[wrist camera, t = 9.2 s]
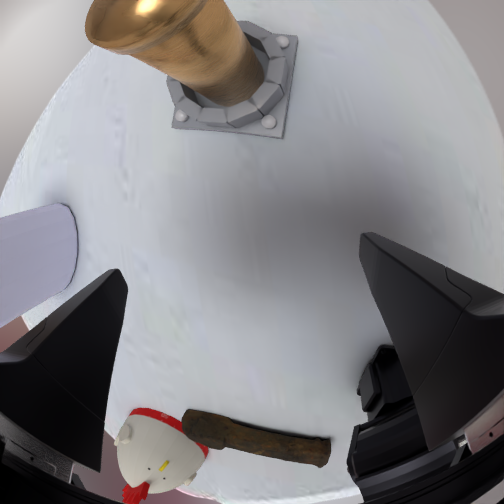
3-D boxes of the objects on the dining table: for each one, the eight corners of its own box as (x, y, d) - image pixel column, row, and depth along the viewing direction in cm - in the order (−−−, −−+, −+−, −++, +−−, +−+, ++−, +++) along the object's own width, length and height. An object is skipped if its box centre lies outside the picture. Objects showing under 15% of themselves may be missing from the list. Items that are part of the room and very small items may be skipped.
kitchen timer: (226, 451, 32) (193, 530, 18) (180, 462, 37) (149, 521, 23) (151, 397, 31) (95, 474, 17) (120, 418, 36) (76, 474, 22)
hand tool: (334, 435, 27) (333, 463, 22) (322, 449, 28) (320, 476, 24) (190, 395, 30) (174, 420, 25) (188, 412, 31) (174, 436, 26)
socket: (297, 40, 16) (294, 20, 13) (282, 138, 19) (276, 132, 16) (195, 38, 18) (178, 23, 15) (175, 128, 21) (155, 123, 17)
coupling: (279, 64, 17) (230, -50, 4) (244, 120, 18) (144, 55, 6) (221, 42, 17) (133, -47, 5) (188, 94, 19) (67, 41, 7)
